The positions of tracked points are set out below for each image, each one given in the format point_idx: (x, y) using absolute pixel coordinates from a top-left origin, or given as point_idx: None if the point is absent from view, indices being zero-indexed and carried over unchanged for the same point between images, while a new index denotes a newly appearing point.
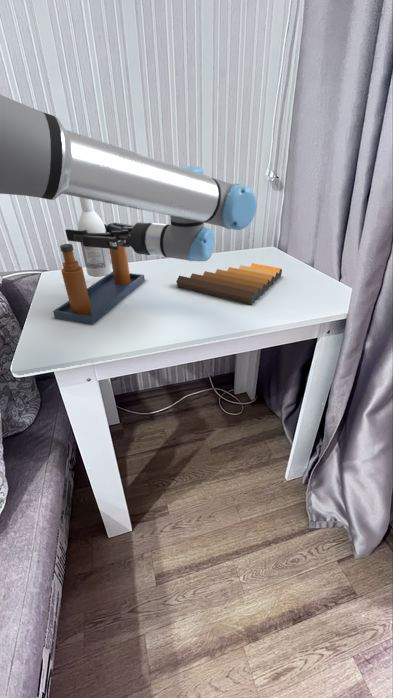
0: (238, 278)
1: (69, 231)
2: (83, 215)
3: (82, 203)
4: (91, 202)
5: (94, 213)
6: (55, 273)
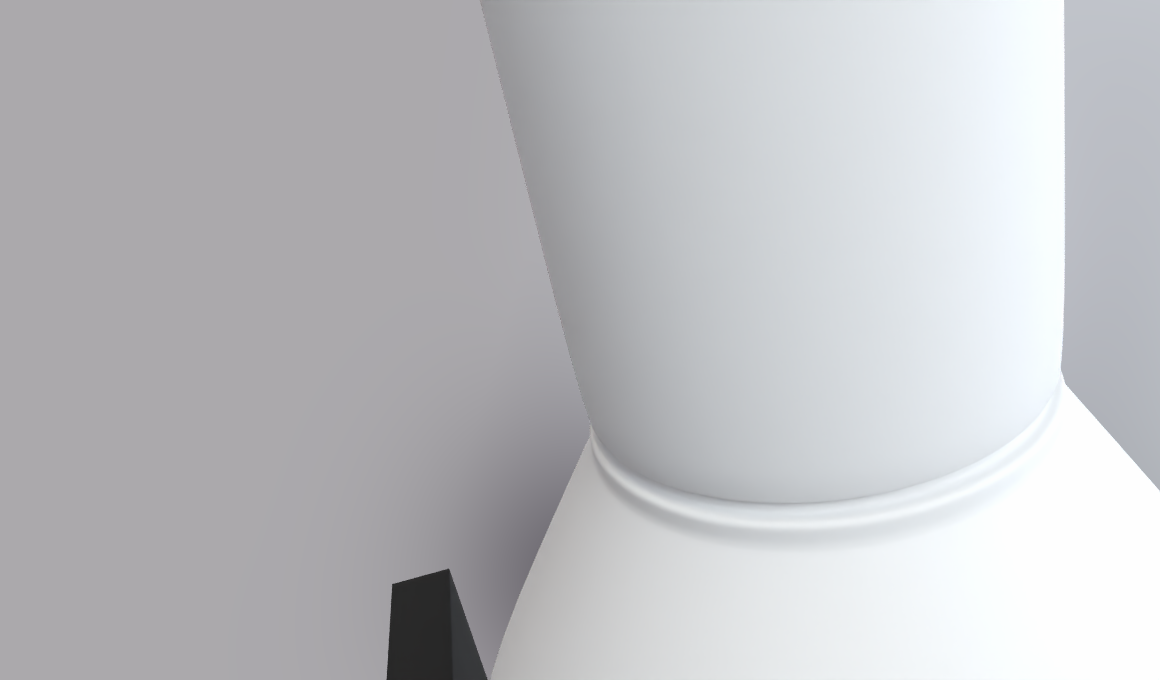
0: None
1: (395, 672)
2: (551, 550)
3: (519, 149)
4: (905, 119)
5: (977, 627)
6: None
